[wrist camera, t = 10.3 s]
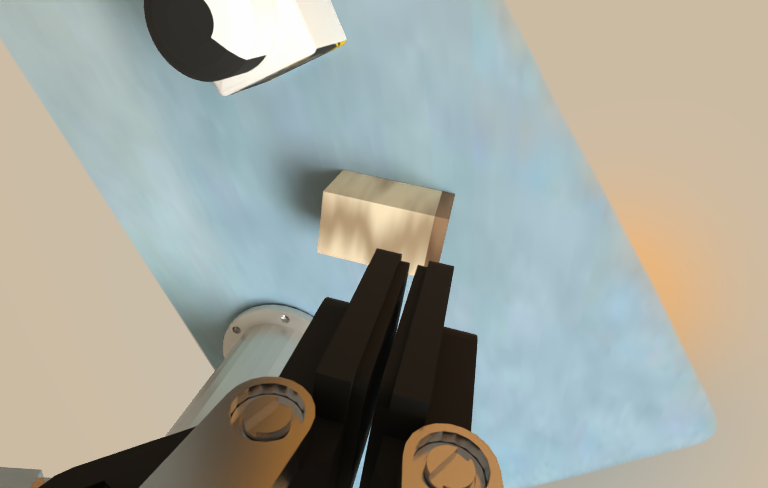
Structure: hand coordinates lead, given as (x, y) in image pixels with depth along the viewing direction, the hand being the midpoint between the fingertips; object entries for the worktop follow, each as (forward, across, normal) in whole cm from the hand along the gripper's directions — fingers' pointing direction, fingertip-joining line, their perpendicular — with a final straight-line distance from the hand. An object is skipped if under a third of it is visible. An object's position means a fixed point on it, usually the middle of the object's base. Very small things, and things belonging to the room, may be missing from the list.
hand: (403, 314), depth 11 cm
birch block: (+25, 0, +10) cm, 27 cm away
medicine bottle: (+27, +14, -3) cm, 31 cm away
